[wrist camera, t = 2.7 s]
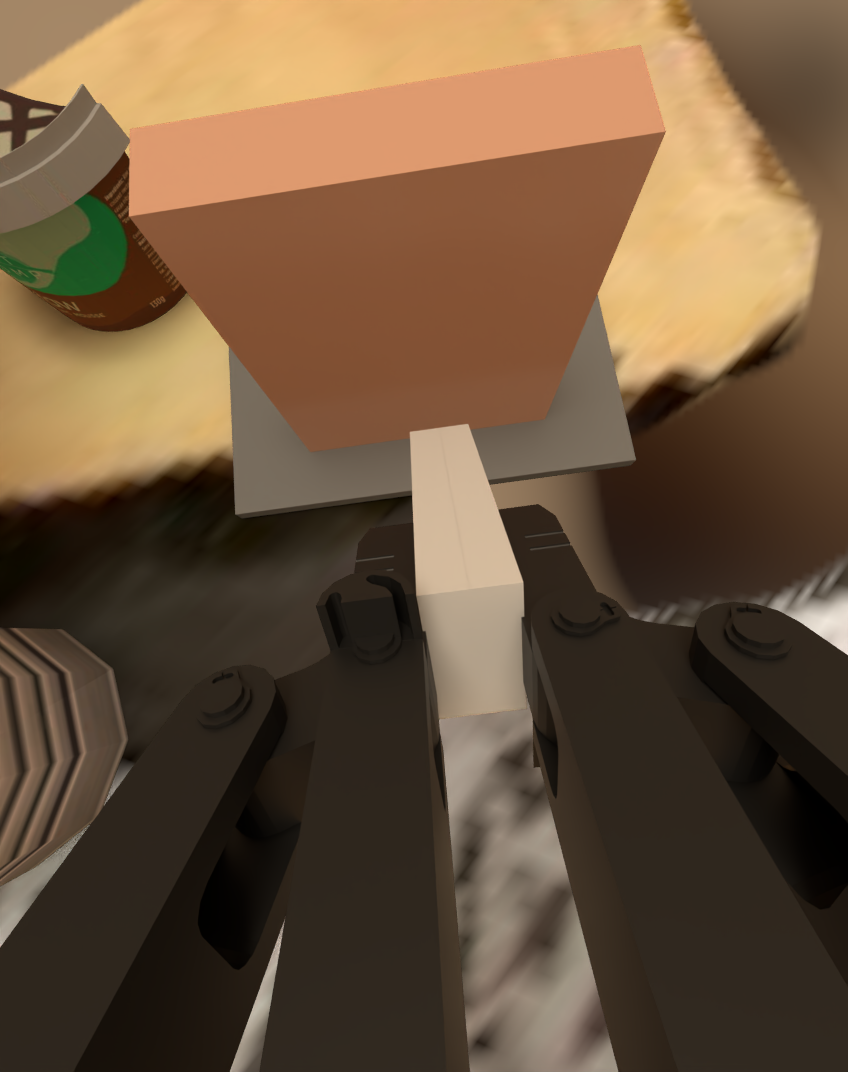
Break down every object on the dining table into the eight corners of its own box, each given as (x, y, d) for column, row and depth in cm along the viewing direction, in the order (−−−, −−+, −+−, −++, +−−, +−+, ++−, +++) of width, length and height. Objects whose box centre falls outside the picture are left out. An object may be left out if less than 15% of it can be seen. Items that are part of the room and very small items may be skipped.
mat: (242, 518, 25) (235, 514, 24) (227, 175, 29) (221, 162, 29) (629, 465, 24) (636, 459, 23) (551, 123, 29) (554, 109, 28)
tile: (310, 452, 24) (129, 216, 11) (306, 399, 25) (130, 114, 11) (544, 419, 24) (665, 131, 10) (534, 367, 25) (636, 30, 11)
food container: (-7, 324, 28) (-250, 159, 18) (38, 238, 29) (-170, 39, 20) (181, 371, 27) (25, 218, 17) (220, 278, 28) (95, 85, 18)
